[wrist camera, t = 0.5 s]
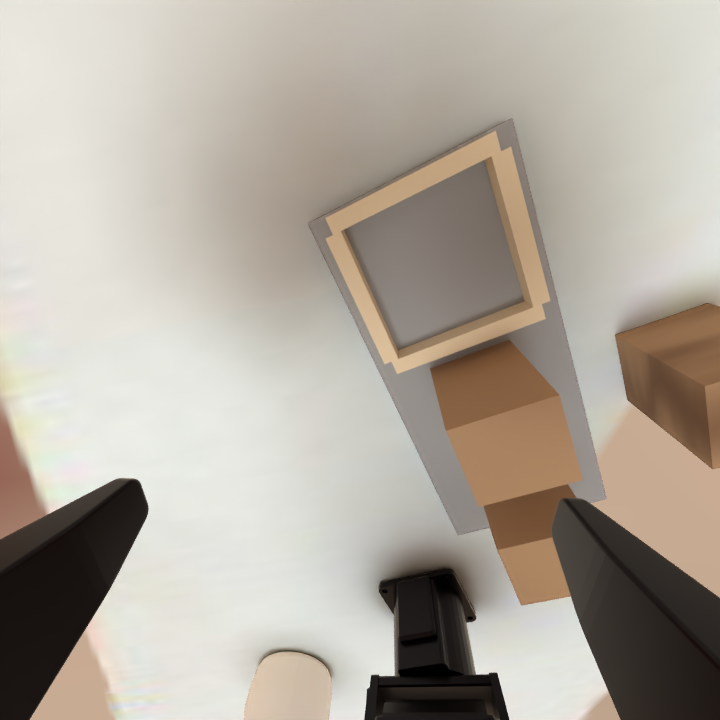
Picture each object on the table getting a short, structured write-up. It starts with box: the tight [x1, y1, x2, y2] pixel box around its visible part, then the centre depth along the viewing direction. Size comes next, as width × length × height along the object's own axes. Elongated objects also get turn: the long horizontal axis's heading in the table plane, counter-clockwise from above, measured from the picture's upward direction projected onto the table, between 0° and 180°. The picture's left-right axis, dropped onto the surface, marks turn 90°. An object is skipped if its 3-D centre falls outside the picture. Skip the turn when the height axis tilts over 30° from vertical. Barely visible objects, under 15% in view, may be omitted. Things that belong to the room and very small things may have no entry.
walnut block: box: [615, 303, 720, 469], centre depth 17 cm, size 4×4×6 cm
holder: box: [308, 118, 606, 605], centre depth 17 cm, size 23×10×7 cm, turn 25°
